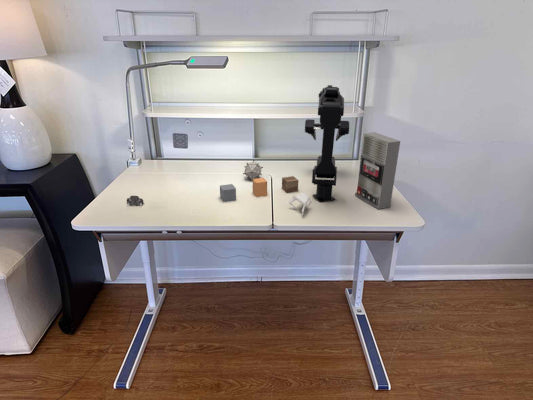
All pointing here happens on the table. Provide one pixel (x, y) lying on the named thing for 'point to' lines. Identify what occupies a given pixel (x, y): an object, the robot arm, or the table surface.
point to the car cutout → (135, 201)
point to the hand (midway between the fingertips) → (325, 140)
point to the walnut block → (290, 184)
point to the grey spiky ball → (252, 170)
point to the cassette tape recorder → (377, 169)
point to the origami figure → (301, 200)
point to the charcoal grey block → (227, 193)
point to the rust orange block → (259, 187)
